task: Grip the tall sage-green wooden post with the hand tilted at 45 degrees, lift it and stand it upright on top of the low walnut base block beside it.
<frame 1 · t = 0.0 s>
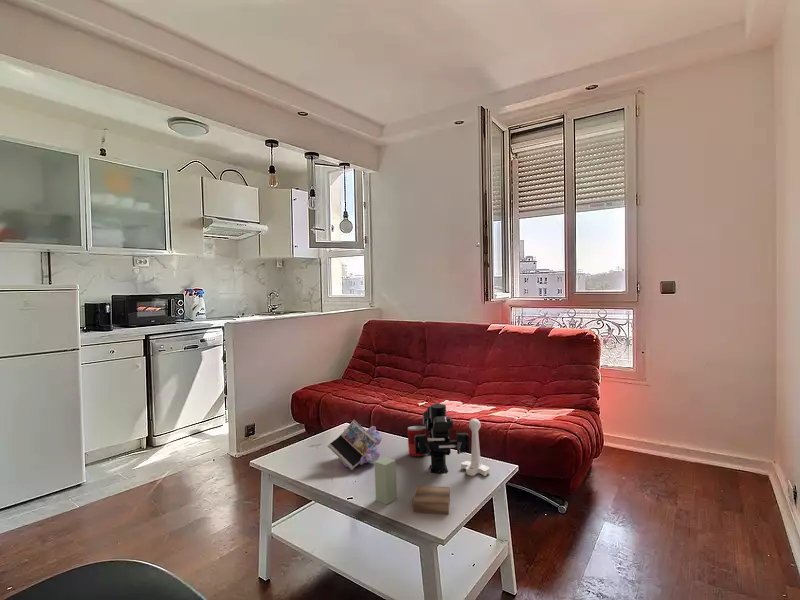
hand: (444, 453, 140), 16 cm above the table, fingers open, 9 cm apart
colorful box: (358, 462, 176), on the table
base block: (432, 504, 138), on the table
canned food: (417, 454, 181), on the table, touching arm
joystick: (474, 472, 162), on the table
post: (386, 499, 143), on the table
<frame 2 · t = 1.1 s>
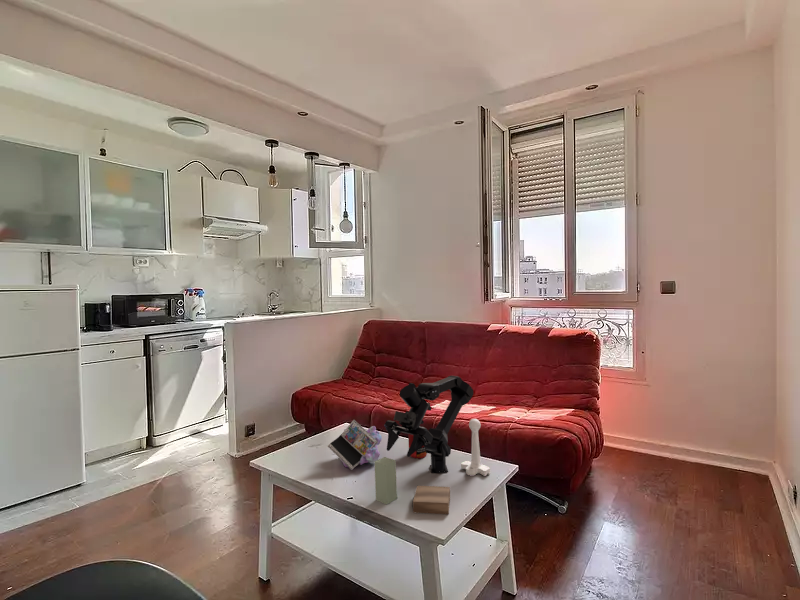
hand: (397, 453, 147), 14 cm above the table, fingers open, 9 cm apart
canned food: (417, 455, 181), on the table
everything else where it was.
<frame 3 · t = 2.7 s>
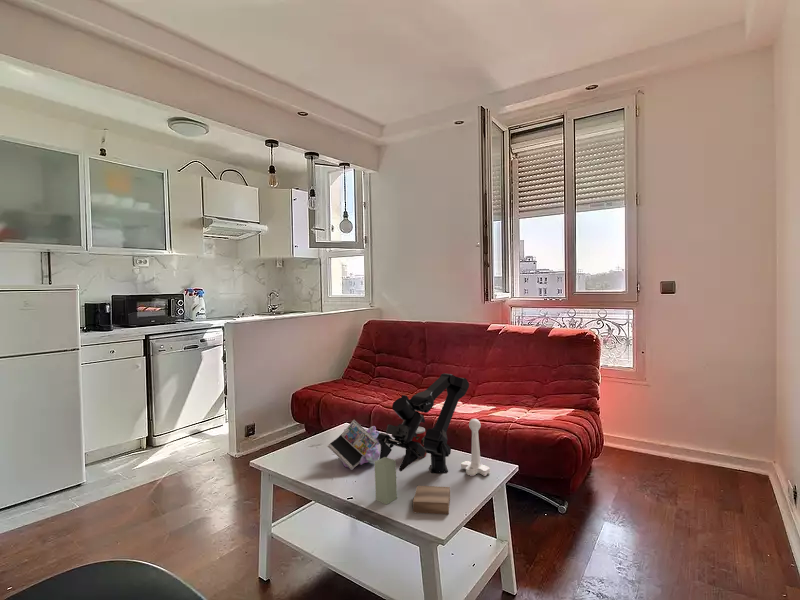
hand: (389, 467, 145), 10 cm above the table, fingers open, 9 cm apart
nothing on the table moved.
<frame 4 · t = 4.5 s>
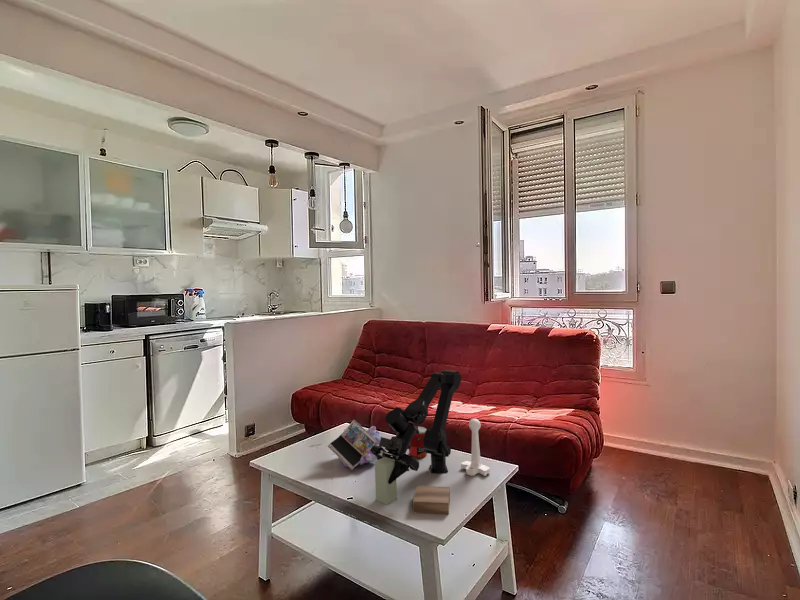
hand: (382, 481, 142), 7 cm above the table, fingers closed on post, 5 cm apart
post: (386, 499, 143), on the table, touching gripper
everything else where it was.
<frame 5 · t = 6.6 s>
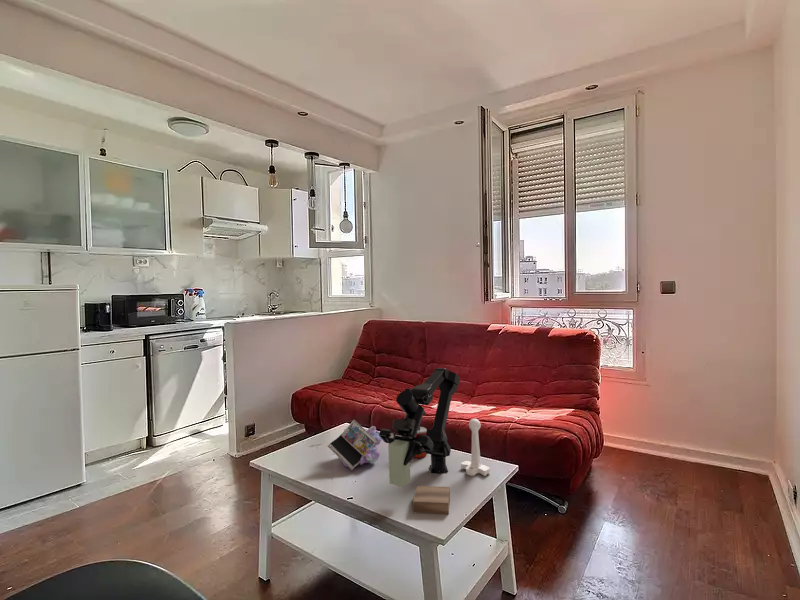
hand: (397, 463, 139), 13 cm above the table, fingers closed on post, 5 cm apart
post: (400, 482, 141), point 7 cm above the table, touching gripper
everything else where it was.
when the fingers open (11 cm above the table, at t = 8.7 s): post drops 1 cm, resting on base block.
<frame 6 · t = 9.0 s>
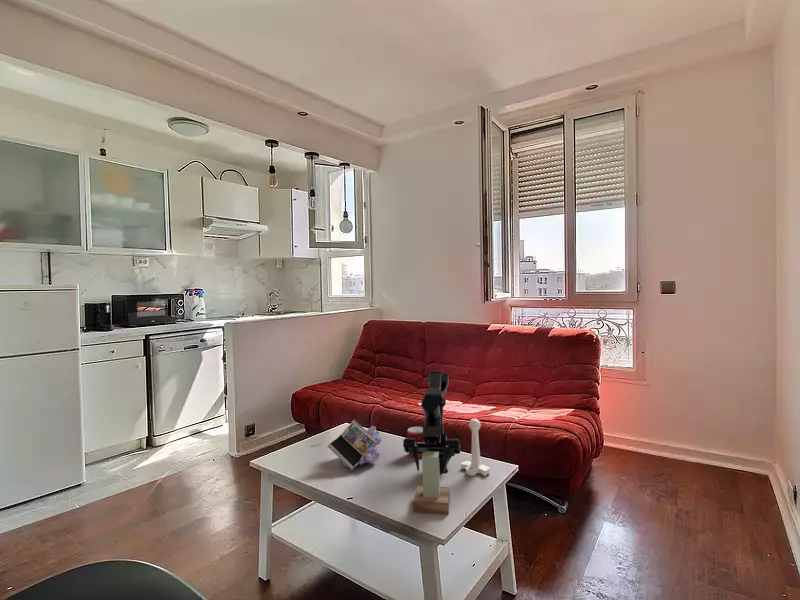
hand: (430, 471, 137), 12 cm above the table, fingers open, 8 cm apart
post: (431, 493, 138), point 3 cm above the table, touching base block
everything else where it was.
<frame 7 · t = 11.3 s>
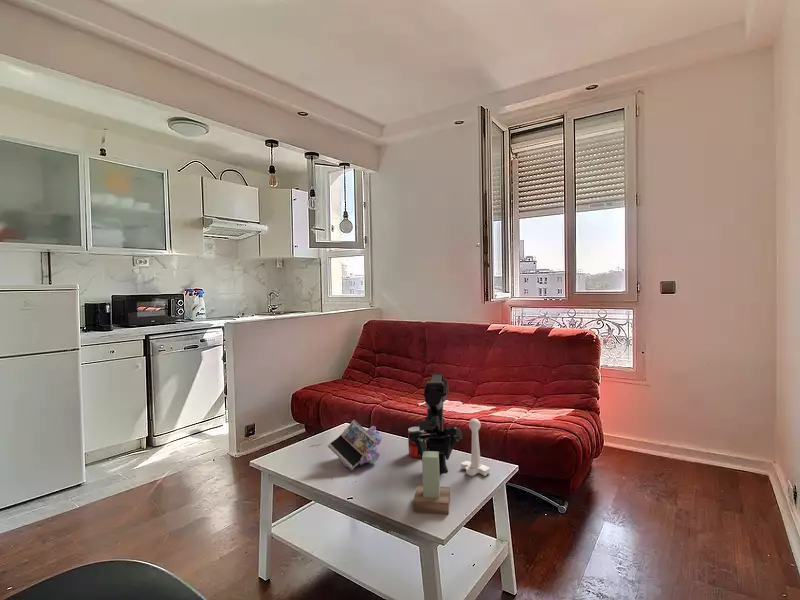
hand: (434, 460, 145), 11 cm above the table, fingers open, 9 cm apart
nothing on the table moved.
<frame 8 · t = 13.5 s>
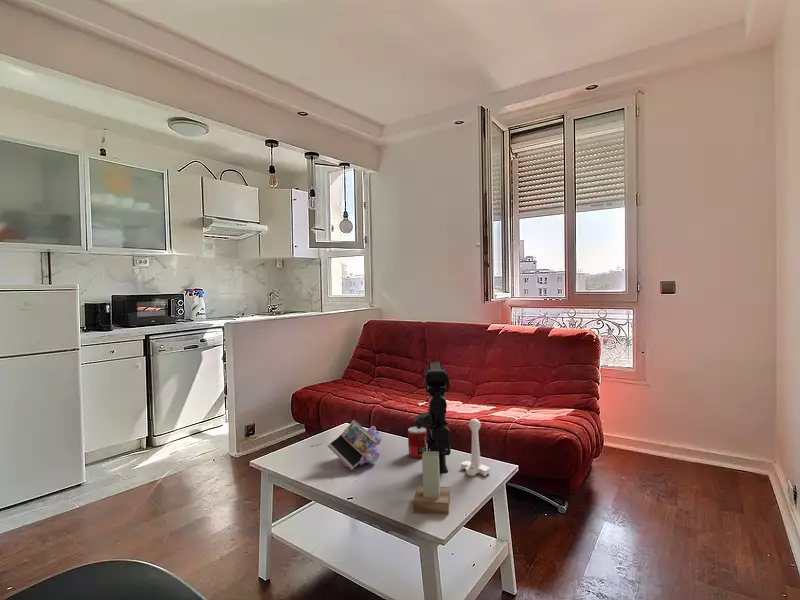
hand: (438, 449, 151), 13 cm above the table, fingers open, 9 cm apart
nothing on the table moved.
at the end: post 0.0 cm off-centre on the base block, point 3.5 cm above the base block's base; post tilted 0°; post touching base block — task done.
